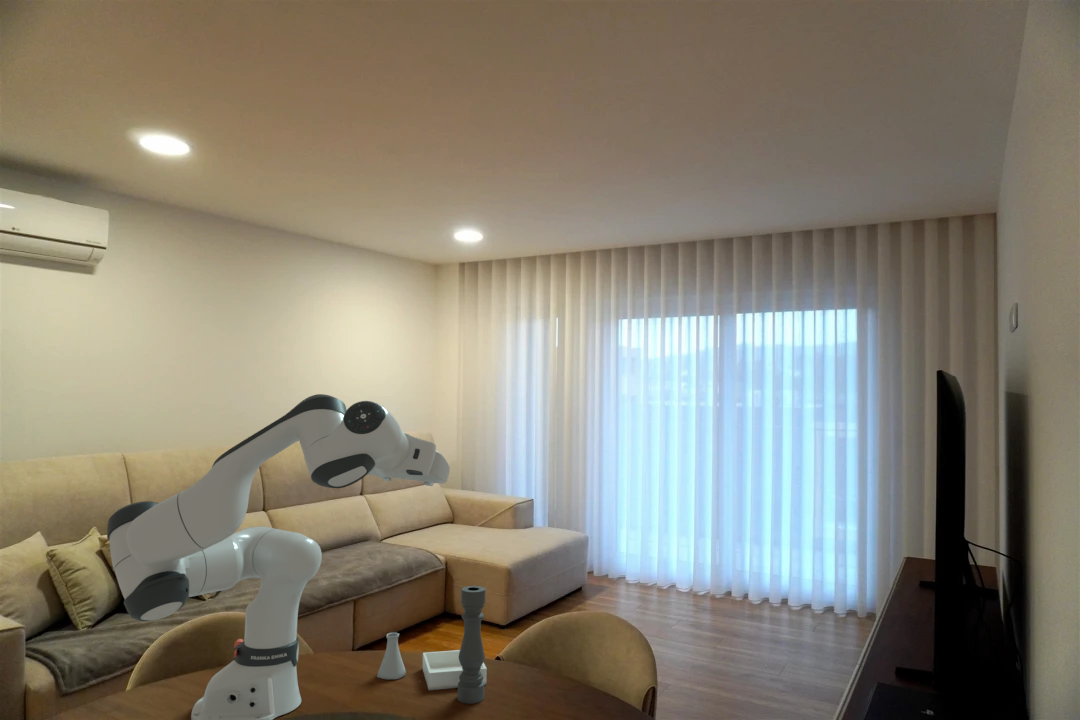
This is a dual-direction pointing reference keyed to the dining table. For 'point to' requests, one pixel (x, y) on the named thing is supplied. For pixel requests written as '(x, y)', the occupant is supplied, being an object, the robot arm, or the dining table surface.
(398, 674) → the flask
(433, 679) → the box
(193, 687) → the dining table surface
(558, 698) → the dining table surface
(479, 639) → the candle holder
